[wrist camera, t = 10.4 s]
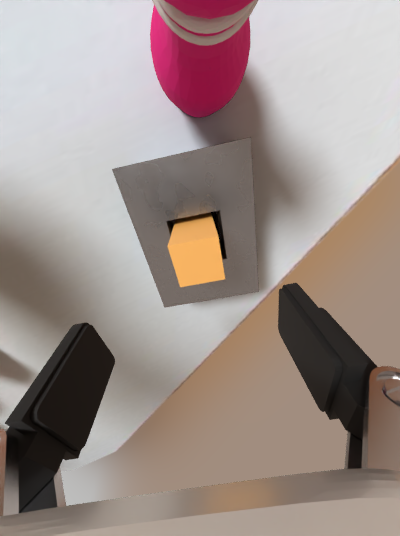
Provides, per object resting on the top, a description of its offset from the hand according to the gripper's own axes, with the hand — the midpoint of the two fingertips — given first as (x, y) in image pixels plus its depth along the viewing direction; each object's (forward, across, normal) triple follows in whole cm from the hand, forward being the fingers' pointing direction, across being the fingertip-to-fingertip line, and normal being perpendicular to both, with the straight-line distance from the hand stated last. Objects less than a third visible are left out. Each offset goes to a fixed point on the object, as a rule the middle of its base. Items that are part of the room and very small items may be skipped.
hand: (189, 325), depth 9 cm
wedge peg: (+18, -1, 0) cm, 18 cm away
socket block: (+18, -1, 0) cm, 18 cm away
